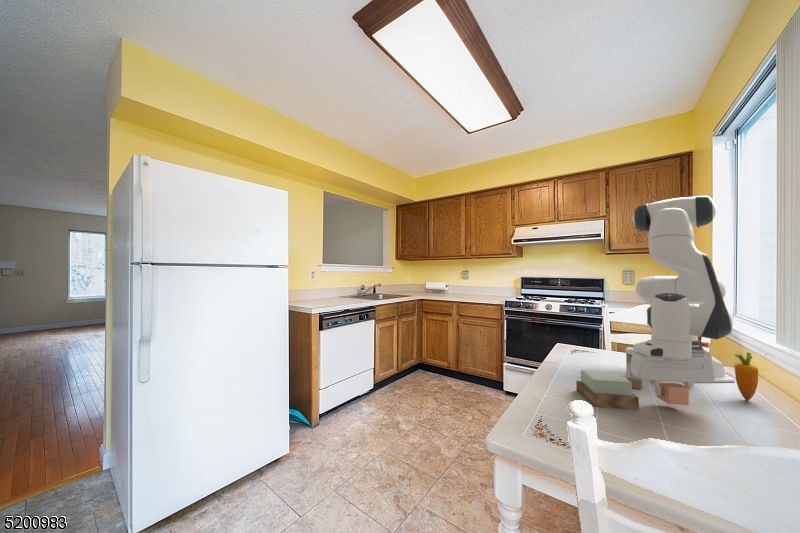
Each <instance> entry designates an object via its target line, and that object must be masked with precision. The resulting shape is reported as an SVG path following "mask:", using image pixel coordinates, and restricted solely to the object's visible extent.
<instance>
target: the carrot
mask: <svg viewBox="0 0 800 533" xmlns="http://www.w3.org/2000/svg"><path fill="white" fill-rule="evenodd" d="M734 356H735V357H736V358H738V359H739V360H740V361H741V362H738V363H735V365H734V374H735V382H736V385H737V387H738V388H737V389H738V390H739V392H740V394H741V395H742V396H741V397H742V398H743V399H744V400H745V401H749V400H751V399H752V398H753V397H754V395H755V394H756V393H757V392H756V391H757V389H758V383H759V369H758V368H757V366H755V365H753V364H750V363H751V359H752V358H753V355H752V353H751V352H749V351H747V352H746V358H745V357H744V356H743V355H742V354H741V353H739V354H737V353H735V354H734Z"/></svg>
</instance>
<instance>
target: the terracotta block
mask: <svg viewBox="0 0 800 533" xmlns="http://www.w3.org/2000/svg"><path fill="white" fill-rule="evenodd" d="M658 385H659V386H660V388H661V389H663V390H665V393H664V394H665V395H664V396H662V395H657V394H656V393H655V395H656V398H658V399H659V400H661V401H662V402H664V403H666V404H668V405H671V406H672V405H673V406H676V405H677V406H690V405H689V397H688V388H687V387H685V386H684V384H681V383H680V382H677V381H660V384H658Z"/></svg>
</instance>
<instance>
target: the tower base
mask: <svg viewBox="0 0 800 533" xmlns="http://www.w3.org/2000/svg"><path fill="white" fill-rule="evenodd" d="M575 383H576V387H575V388H576V392H577V393H578V394H579V395H581V396H582V397H583V399H585V400H586V401H587V402H589V404H590V405H591V406H593V407H594V408H605V409H606V408H607V409H621V410H622V409H623V410H637V411H639V410H640V402H639V401H640V400H639V397H638V396H637V395H636V394H634V393H633V392H632V396H627V395H614V394H601V393H594V392H593V391H592V390H591V389H589V388H588V387H587V386H586V385H585V384H584V383H583V382H582V381H581V380H578V379H577V380H576V382H575Z"/></svg>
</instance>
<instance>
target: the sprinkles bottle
mask: <svg viewBox="0 0 800 533" xmlns="http://www.w3.org/2000/svg"><path fill="white" fill-rule="evenodd" d="M635 352H636V351H634V350H633V346H631V347H630V346H627V347H625V354H626V355H625V356H626V361H625V365H626V369H625V370H626V372H625V373H626V379H627V380H629V381H630V382H632V389H638V390H639V389H643V388H644V387H643V380H639V379H637V378H636V377H634V376H633V375H632V374H631V357H632V355H633V354H634V353H635Z"/></svg>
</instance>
